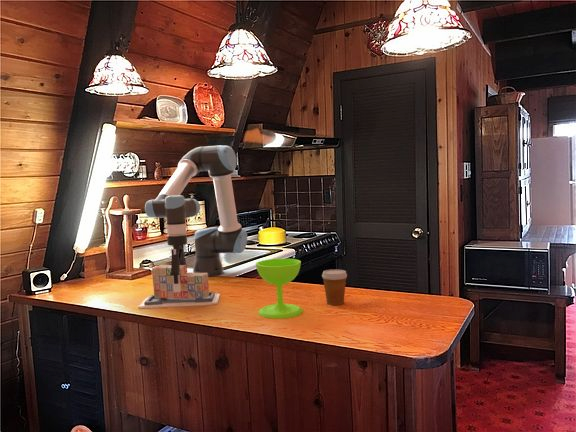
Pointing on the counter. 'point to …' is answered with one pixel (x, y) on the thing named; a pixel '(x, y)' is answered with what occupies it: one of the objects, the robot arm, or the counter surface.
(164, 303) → the blueprint board
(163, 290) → the stack of blocks
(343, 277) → the disposable coffee cup
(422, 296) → the counter surface
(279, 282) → the wineglass
